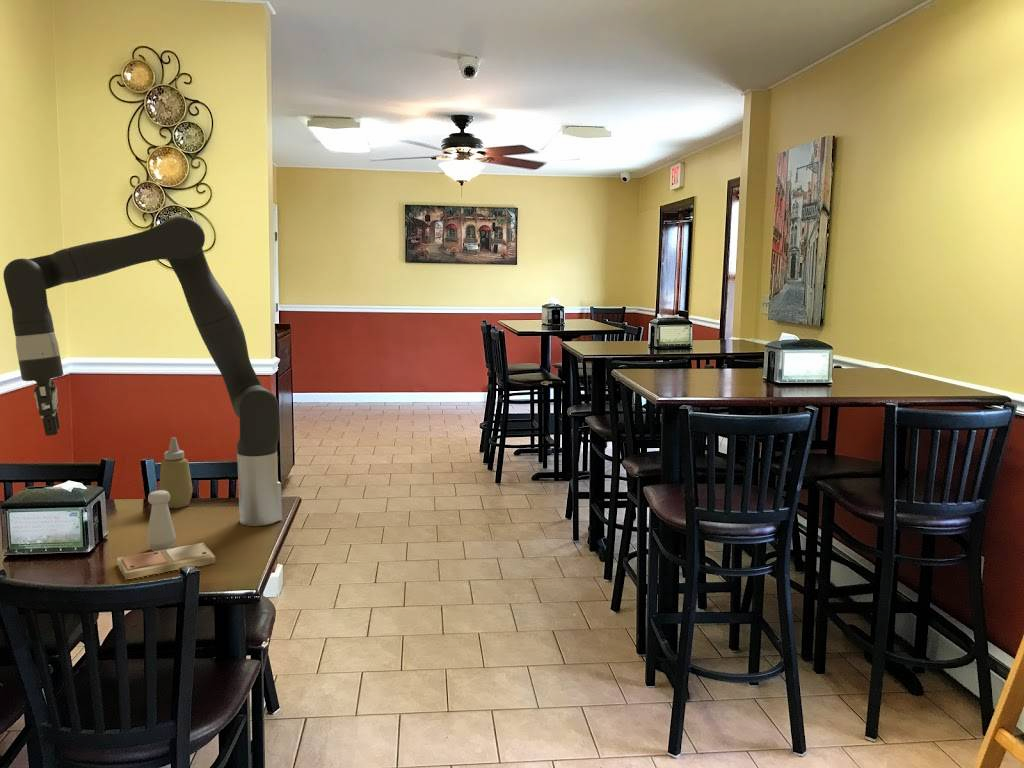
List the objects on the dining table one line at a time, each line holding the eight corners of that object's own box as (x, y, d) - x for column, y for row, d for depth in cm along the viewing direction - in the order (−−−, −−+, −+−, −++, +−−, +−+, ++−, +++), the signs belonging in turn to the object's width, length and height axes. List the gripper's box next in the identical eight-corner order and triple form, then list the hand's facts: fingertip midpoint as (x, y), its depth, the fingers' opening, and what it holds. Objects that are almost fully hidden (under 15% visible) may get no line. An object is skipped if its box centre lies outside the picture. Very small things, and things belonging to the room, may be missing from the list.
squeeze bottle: (187, 510, 198) (184, 441, 196) (154, 510, 198) (151, 441, 195) (197, 501, 206) (194, 434, 204) (166, 501, 206) (162, 434, 203)
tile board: (203, 549, 171) (202, 540, 170) (215, 563, 163) (214, 554, 162) (117, 564, 161) (117, 556, 161) (126, 580, 153) (125, 571, 153)
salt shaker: (164, 554, 167) (161, 496, 165) (141, 552, 168) (138, 494, 166) (181, 545, 173) (178, 489, 171) (158, 543, 174) (155, 487, 172)
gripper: (58, 355, 157) (72, 433, 159) (61, 352, 169) (74, 425, 171) (14, 360, 153) (29, 440, 156) (21, 356, 166) (35, 431, 168)
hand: (53, 432), depth 163 cm, fingers open, 8 cm apart
